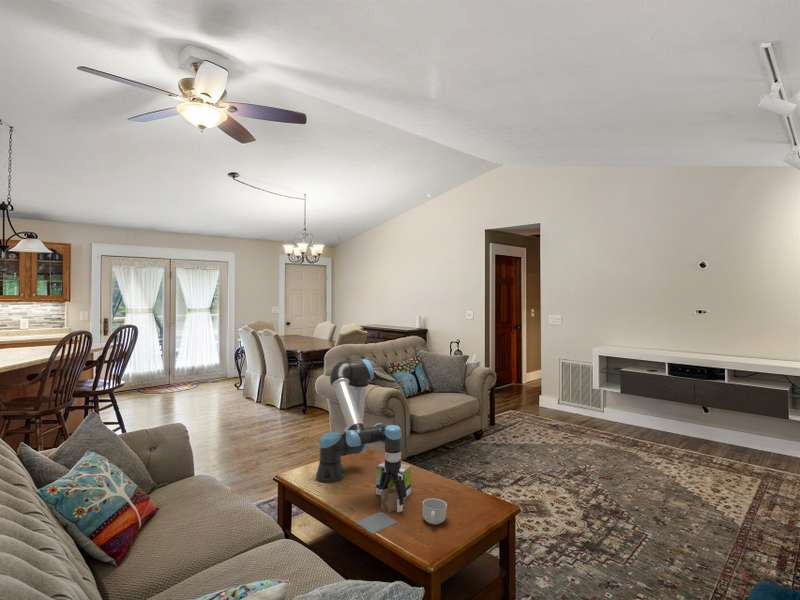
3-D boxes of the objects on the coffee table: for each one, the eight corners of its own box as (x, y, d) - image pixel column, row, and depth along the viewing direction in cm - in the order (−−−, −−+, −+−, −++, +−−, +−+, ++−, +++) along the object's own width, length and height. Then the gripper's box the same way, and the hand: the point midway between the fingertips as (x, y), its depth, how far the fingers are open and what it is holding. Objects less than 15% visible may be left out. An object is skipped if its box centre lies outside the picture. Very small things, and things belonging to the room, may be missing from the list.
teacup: (426, 513, 199) (426, 495, 199) (449, 517, 196) (449, 500, 195) (416, 528, 186) (416, 509, 186) (441, 533, 183) (441, 514, 182)
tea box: (375, 495, 217) (375, 465, 217) (385, 487, 226) (385, 459, 225) (402, 502, 210) (402, 471, 210) (411, 493, 219) (411, 464, 218)
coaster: (355, 522, 191) (355, 522, 190) (380, 512, 200) (380, 511, 200) (372, 534, 181) (372, 533, 181) (398, 523, 191) (398, 522, 191)
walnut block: (381, 508, 204) (381, 491, 203) (395, 502, 210) (395, 485, 209) (389, 513, 199) (389, 495, 199) (404, 506, 205) (404, 489, 205)
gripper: (371, 454, 210) (371, 501, 210) (402, 469, 193) (402, 519, 193) (384, 451, 215) (383, 496, 215) (414, 464, 198) (414, 513, 198)
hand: (392, 507), depth 204 cm, fingers open, 10 cm apart
